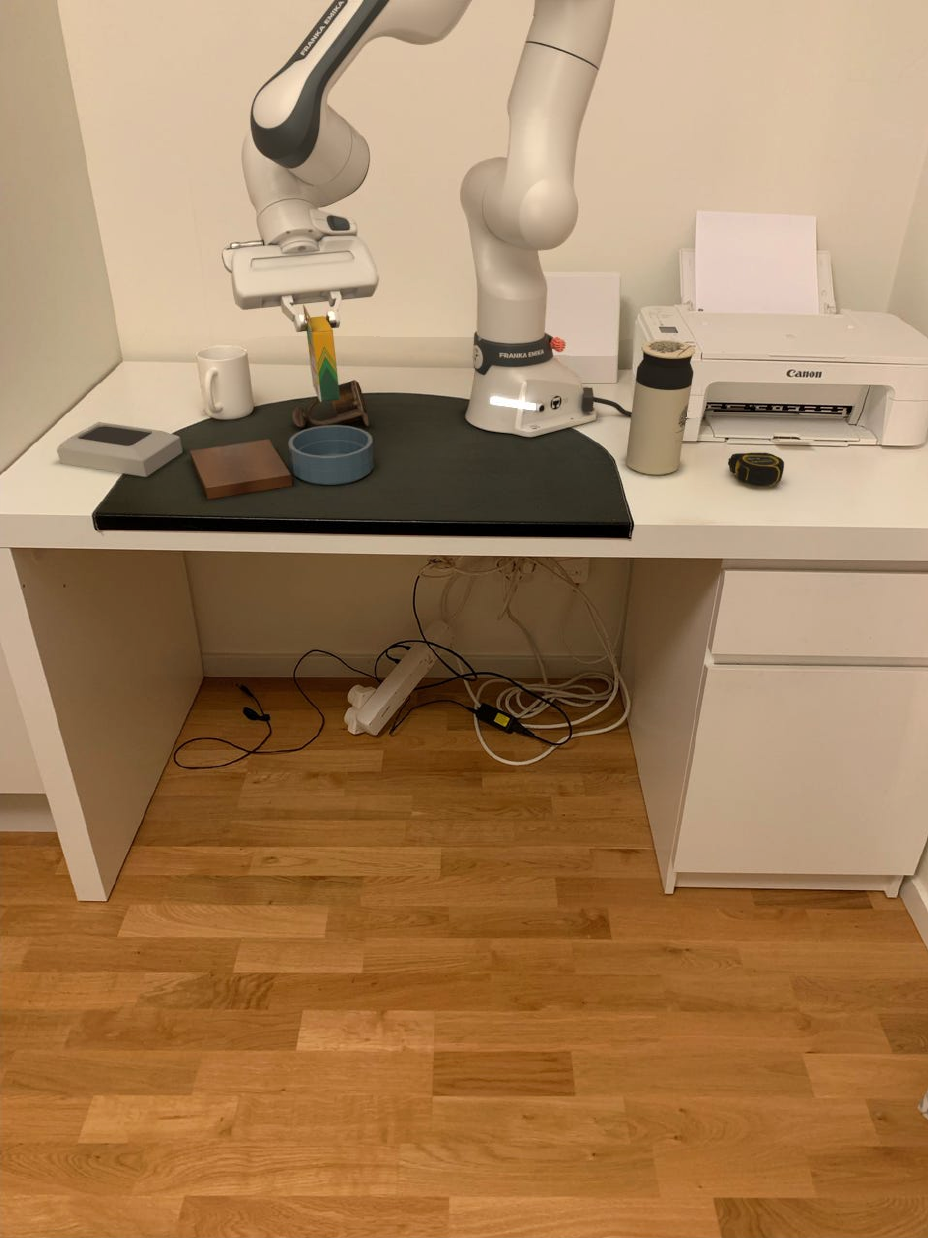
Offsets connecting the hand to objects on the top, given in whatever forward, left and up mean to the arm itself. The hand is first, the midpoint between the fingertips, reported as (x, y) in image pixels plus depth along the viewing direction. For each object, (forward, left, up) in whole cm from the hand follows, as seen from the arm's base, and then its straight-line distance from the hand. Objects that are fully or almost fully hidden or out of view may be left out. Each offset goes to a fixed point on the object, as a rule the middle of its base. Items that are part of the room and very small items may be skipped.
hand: (318, 327), depth 120 cm
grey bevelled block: (+28, -15, -21) cm, 38 cm away
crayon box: (0, +1, -9) cm, 9 cm away
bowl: (0, +1, -21) cm, 21 cm away
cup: (+10, -27, -21) cm, 36 cm away
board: (+13, -3, -21) cm, 24 cm away
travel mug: (-46, +18, -21) cm, 53 cm away
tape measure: (-57, +28, -21) cm, 66 cm away
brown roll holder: (-6, -17, -21) cm, 27 cm away
